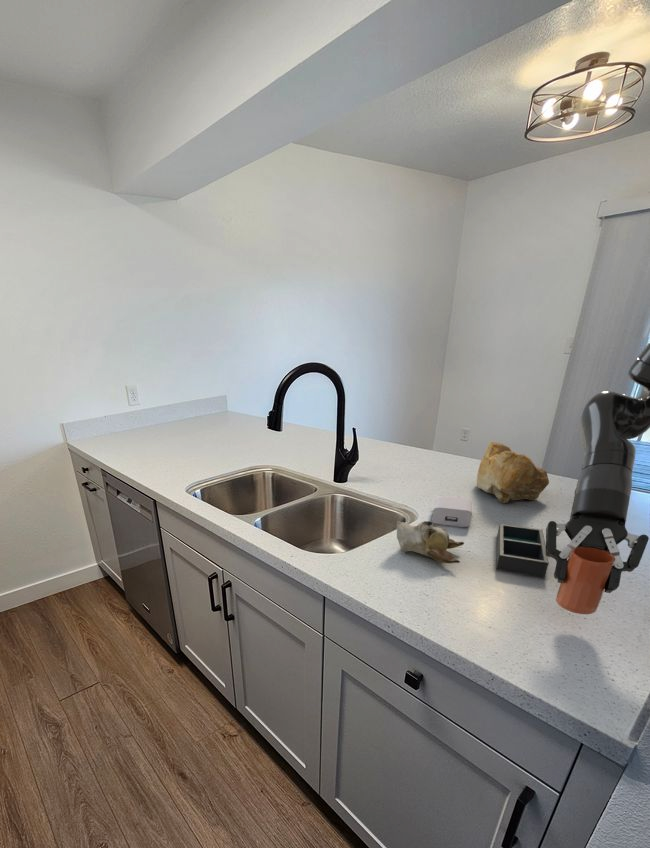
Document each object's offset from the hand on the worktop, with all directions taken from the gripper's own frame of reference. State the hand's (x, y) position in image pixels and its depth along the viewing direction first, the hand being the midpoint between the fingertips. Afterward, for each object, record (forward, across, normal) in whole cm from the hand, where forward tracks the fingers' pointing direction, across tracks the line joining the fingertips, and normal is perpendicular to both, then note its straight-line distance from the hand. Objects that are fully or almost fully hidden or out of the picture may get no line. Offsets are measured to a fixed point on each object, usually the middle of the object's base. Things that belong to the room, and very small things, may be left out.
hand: (584, 586), depth 72 cm
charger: (-24, -27, +36) cm, 51 cm away
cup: (+2, 0, +5) cm, 5 cm away
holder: (-11, -9, +24) cm, 28 cm away
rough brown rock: (-39, -14, +51) cm, 66 cm away
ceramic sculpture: (-5, -28, +18) cm, 33 cm away
